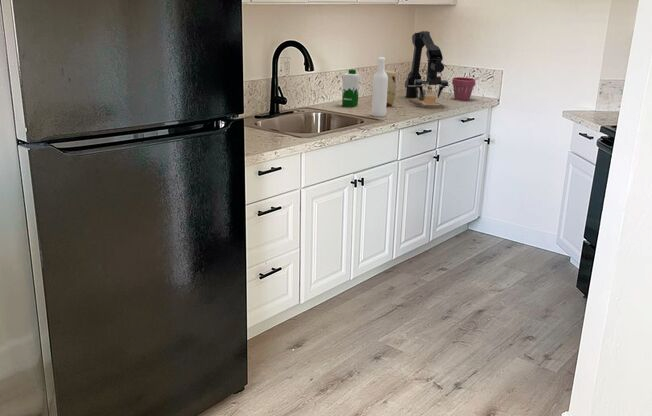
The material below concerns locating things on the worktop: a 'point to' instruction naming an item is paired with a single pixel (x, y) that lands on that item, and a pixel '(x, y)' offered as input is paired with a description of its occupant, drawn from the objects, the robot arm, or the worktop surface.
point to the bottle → (379, 90)
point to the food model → (391, 87)
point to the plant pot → (463, 88)
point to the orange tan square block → (429, 99)
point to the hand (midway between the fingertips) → (430, 97)
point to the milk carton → (350, 89)
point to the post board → (421, 103)
